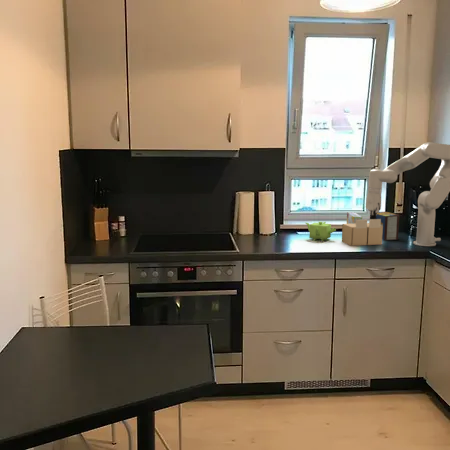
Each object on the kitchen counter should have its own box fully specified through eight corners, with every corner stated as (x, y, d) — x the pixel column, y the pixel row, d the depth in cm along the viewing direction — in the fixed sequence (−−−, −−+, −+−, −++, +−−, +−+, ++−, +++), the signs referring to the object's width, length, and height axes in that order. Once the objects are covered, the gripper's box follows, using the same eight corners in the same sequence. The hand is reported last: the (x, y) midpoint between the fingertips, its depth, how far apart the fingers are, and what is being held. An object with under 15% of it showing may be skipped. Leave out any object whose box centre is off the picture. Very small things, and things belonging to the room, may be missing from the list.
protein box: (383, 235, 343) (384, 211, 340) (398, 239, 329) (399, 214, 326) (369, 236, 340) (370, 212, 337) (383, 240, 325) (385, 215, 323)
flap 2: (381, 244, 313) (382, 218, 310) (381, 244, 312) (383, 219, 310) (367, 244, 311) (368, 219, 308) (367, 244, 310) (369, 219, 308)
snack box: (361, 241, 323) (362, 216, 321) (352, 241, 323) (353, 216, 321) (353, 234, 344) (355, 211, 342) (345, 234, 344) (346, 211, 342)
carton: (371, 240, 325) (372, 222, 323) (381, 244, 313) (382, 226, 312) (341, 241, 320) (342, 223, 319) (350, 245, 309) (351, 227, 307)
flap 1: (352, 245, 308) (353, 220, 305) (352, 245, 309) (353, 219, 306) (366, 244, 310) (368, 219, 308) (366, 244, 311) (367, 219, 308)
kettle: (303, 238, 332) (304, 220, 330) (323, 236, 336) (324, 219, 334) (315, 242, 318) (316, 224, 316) (336, 241, 322) (336, 223, 320)
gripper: (362, 189, 317) (360, 219, 320) (375, 192, 303) (373, 223, 306) (374, 189, 319) (372, 219, 322) (387, 192, 304) (384, 223, 308)
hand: (372, 221), depth 314 cm, fingers closed
